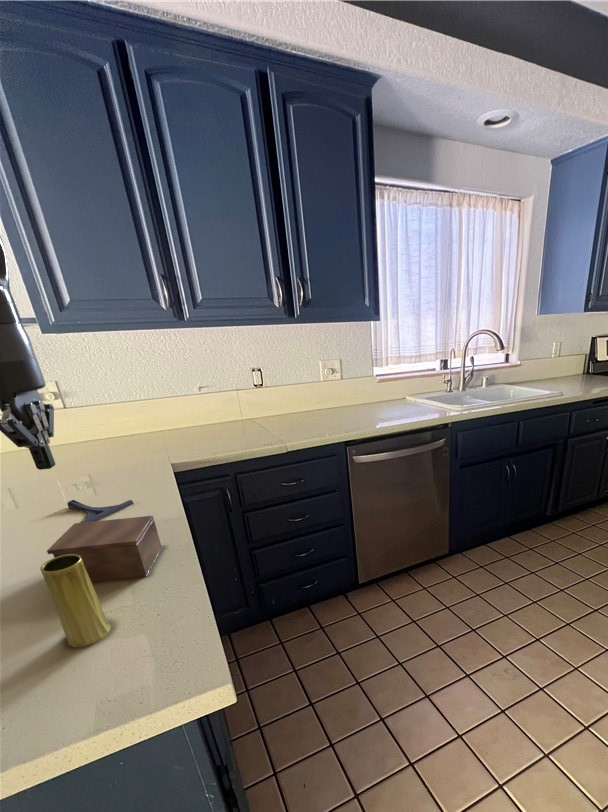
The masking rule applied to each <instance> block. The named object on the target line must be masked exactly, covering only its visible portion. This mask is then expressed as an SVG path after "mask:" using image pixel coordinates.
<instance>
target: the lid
mask: <svg viewBox="0 0 608 812" xmlns="http://www.w3.org/2000/svg"><path fill="white" fill-rule="evenodd" d="M153 519H154V515H145V516H134V517H125V518H115V519H106V520H105V519H104V520H98V521H93V522H83V523H80V522H74V523H73V524H72V525H71V526H70V527H69V528H68V529H67V530H66V531H64V533H63V534H62V535H61V536H60V537H59V538H58V539H57V540H56V541H55V542H53V544H52V545H51V546H50V547H49V548H48V549H46V553H47V554H48V555H53V554H55V553H64V552H73V551H82V550H91V549H101V548H110V547H119V546H128V545H137V544H138V542H139V541H140V539H141V538H142V536H143V534H144V533H145V531H146V530H147V528H148V527H149V525H150V524H151V522H152V521H153ZM154 520H155V519H154Z"/></svg>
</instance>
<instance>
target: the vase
mask: <svg viewBox="0 0 608 812" xmlns="http://www.w3.org/2000/svg"><path fill="white" fill-rule="evenodd" d="M39 570H40V572H41V575H42V576H43V578H44V581H45V583H46V586H47V588H48V591H49V593H50V596H51V600H52V602H53V603H52V604H53V606H54V609H55V611H56V613H57V616H58V618H59V621H60V625H61V627H62V631H63V633H64V635H65V638H66V639H67V644H68V645H69V646H72V647H73V648H82V647H87V646H90V645H92V644H95V643H97V642H99V641H101V640H102V639H104V638H105V637H106V636H107V635H108V634H109V633H110V630H111V627H112V626H111V625H110V623H109V620H108V619H107V616H106V614H105V611H104V609H103V606H102V605H101V602H100V600H99V597H98V595H97V592H96V590H95V587H94V585H93V583H91V581H90V578H89V576H88V573H87V571H86V569H85V566H84V564H83V561H82V558H81V557H80V556H79V555H77V554H67V555H62V556H58V557H55V558H54V557H53V558H51V559H49V560H47V561H45V562H43V564H42V565H41V566H40V567H39Z"/></svg>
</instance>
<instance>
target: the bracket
mask: <svg viewBox="0 0 608 812" xmlns="http://www.w3.org/2000/svg"><path fill="white" fill-rule="evenodd" d="M133 505H134V501H133V500H132V499H128V500H126V501H124V502H122V503H120V504H115V505H109V506H90V505H87V504H83V503H82V502H80V501H78V500H76V499H72V500H69V501H68V502H67V507H68V508H69V509H71V510H77V511H83V512H86V513H87V517H86V518H85V519H84V520H82V521H80V522H79V523H83V522H93V521H101V520H102V519H104V518H106V517H108V516H110V515H113V514H114V513H117V512H119V511H122V510H124V509H126V508H127V507H130V506H133Z"/></svg>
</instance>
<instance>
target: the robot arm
mask: <svg viewBox="0 0 608 812" xmlns="http://www.w3.org/2000/svg"><path fill="white" fill-rule="evenodd" d="M46 385H47V383H46V381H45V378H44V375H43V372H42V369H41V366H40V364H39V361H38V357H37V355H36V353H35V349H34V347H33V344H32V341H31V339H30V337H29V335H28V333H27V331H26V328H25V326H24V324H23V322H22V318H21V315H20V313H19V310H18V308H17V305H16V302H15V300H14V297H13V295H12V292H11V287H10V273H9V267H8V262H7V254H6V250H5V246H4V242H3V239H2V236H1V235H0V411H1V412H2V415H1V418H0V433H2V434H3V435H4V436H5V437H6V438H8V440H10V442H12V443H13V444H14V445H15V446H16V447H17V448H26V449H28V450H29V453H30V455H31V459H32V460H33V463H34V465H35V467H36V469H37V470H40V471H43V470H50V469H52V468H54V467H55V466H56V461H55V458H54V455H53V453H52V451H51V448H50V445H49V444H51V439H50V438H54V435H55V407H54V405H53V404H52V403H44V402H43V397H42V395H41V394H40V392H39V390H41V389H44V388H45V387H46Z"/></svg>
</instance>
